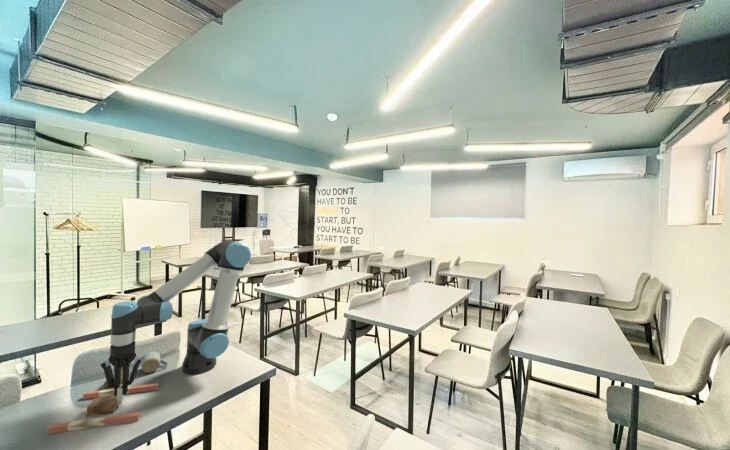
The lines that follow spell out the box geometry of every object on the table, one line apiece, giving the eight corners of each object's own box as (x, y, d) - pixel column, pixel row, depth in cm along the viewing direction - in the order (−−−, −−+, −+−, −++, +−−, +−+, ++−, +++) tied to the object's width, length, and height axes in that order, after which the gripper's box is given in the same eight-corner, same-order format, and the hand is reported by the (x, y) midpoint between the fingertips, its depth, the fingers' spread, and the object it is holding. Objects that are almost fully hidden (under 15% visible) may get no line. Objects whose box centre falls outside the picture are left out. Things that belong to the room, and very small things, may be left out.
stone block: (102, 394, 120) (103, 382, 120) (114, 380, 131) (114, 369, 131) (120, 392, 122) (120, 380, 122) (130, 378, 133) (130, 367, 133)
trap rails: (158, 387, 126) (158, 383, 126) (137, 420, 106) (138, 415, 106) (85, 396, 118) (86, 391, 118) (48, 434, 97) (48, 428, 97)
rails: (130, 391, 123) (130, 386, 123) (103, 425, 102) (103, 420, 102) (101, 394, 120) (101, 389, 120) (67, 431, 99) (67, 425, 99)
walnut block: (120, 404, 115) (121, 394, 115) (113, 414, 109) (113, 403, 109) (95, 407, 112) (95, 397, 112) (86, 418, 106) (86, 407, 106)
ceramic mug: (141, 375, 135) (142, 359, 135) (140, 368, 141) (141, 352, 141) (168, 369, 142) (169, 354, 142) (166, 363, 148) (167, 348, 148)
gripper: (146, 337, 118) (144, 394, 119) (107, 340, 114) (104, 400, 114) (139, 344, 111) (136, 406, 111) (97, 348, 107) (94, 411, 107)
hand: (120, 402), depth 113 cm, fingers closed
